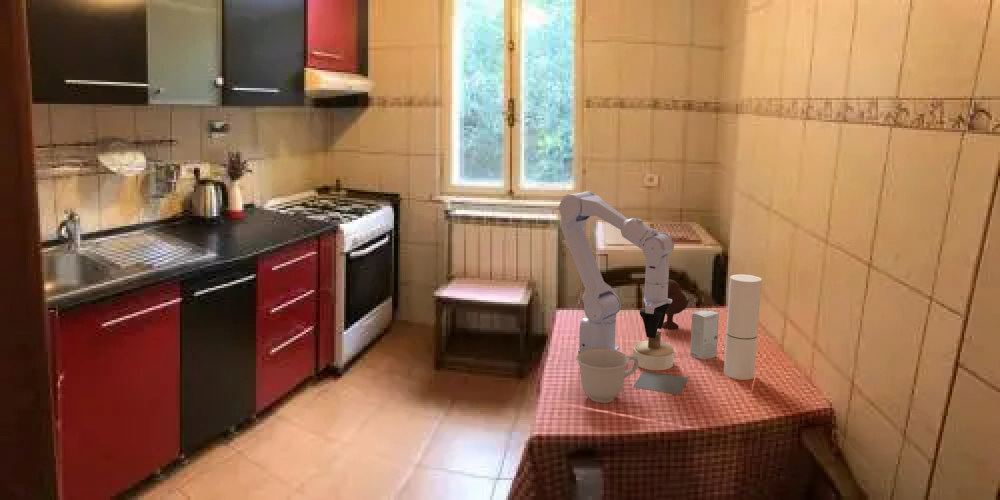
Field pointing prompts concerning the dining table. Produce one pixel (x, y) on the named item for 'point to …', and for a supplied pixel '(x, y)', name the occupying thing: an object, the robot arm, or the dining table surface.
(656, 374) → the mat
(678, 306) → the ice cream bowl
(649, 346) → the lid
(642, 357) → the bowl
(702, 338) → the skincare box
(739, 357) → the cylindrical container
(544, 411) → the dining table surface
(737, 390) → the dining table surface
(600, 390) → the teacup
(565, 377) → the dining table surface
